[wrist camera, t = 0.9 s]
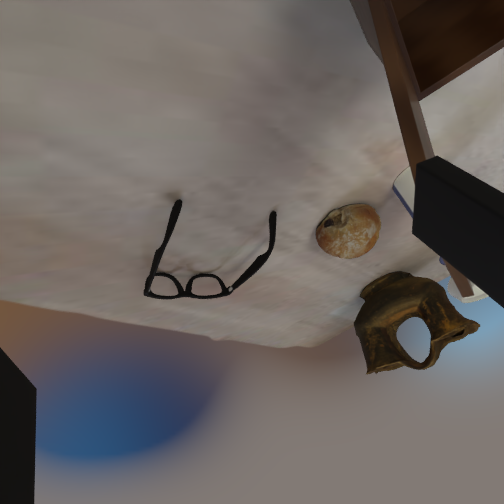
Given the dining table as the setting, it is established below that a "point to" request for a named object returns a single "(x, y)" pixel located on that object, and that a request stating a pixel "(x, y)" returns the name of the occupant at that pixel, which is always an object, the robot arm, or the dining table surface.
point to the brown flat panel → (407, 108)
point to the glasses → (187, 293)
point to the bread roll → (349, 231)
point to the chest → (438, 36)
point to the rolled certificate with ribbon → (405, 193)
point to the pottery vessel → (400, 309)
